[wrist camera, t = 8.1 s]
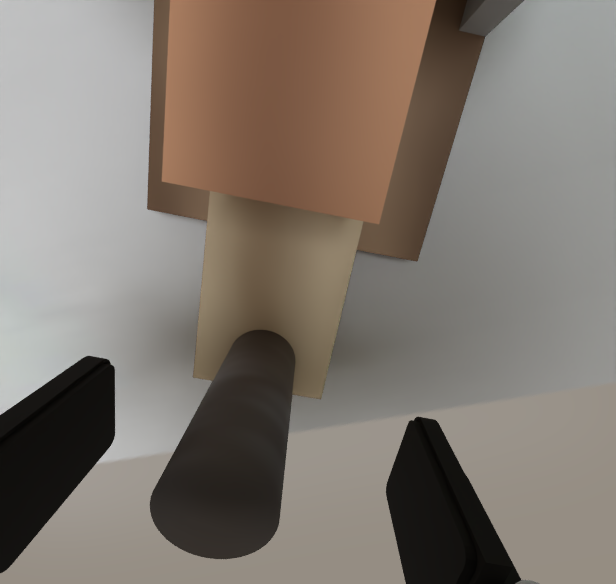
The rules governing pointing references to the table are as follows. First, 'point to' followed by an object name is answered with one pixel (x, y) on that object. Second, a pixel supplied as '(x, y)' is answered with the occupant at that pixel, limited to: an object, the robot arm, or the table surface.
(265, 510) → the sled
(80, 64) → the table surface
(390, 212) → the track board
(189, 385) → the table surface
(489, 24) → the tunnel
